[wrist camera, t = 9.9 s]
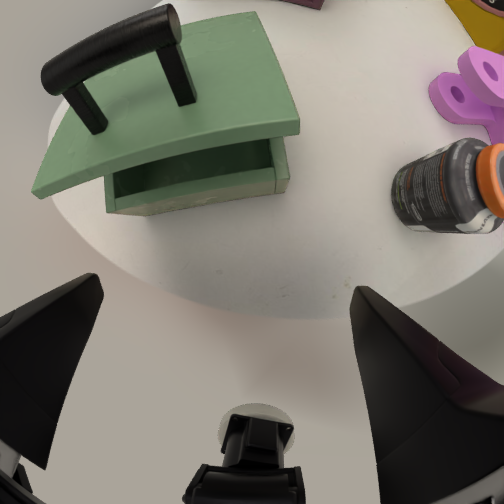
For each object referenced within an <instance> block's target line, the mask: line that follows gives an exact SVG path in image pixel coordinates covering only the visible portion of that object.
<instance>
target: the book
mask: <svg viewBox="0 0 504 504" xmlns="http://www.w3.org/2000/svg"><path fill="white" fill-rule="evenodd" d="M282 1H287V2H291V3H296V4H300V5H304V6H308V7H311V8H315V9H319V10H320V9H321V7H322V5H323V2H324V0H282Z"/></svg>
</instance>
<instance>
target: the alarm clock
mask: <svg viewBox="0 0 504 504" xmlns="http://www.w3.org/2000/svg"><path fill="white" fill-rule="evenodd" d="M445 1H446V3H447V4H448V5H449V6H450V8H451V9H452V10H453V12H454V13H455V14H456V16H457V17H458V19H459V20H460V21H461V23H462V24H463V26H464V27H465V29H466V30H467V32H468V33H469V35H470V36H471V38H472V40H473V41H474V43H475V45H476V46H477V47H479V48H482V49H485V50H488V51H491V52H494V53H496V54H499V55H502V56H504V0H445Z"/></svg>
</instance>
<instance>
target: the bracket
mask: <svg viewBox="0 0 504 504" xmlns="http://www.w3.org/2000/svg"><path fill="white" fill-rule="evenodd" d="M458 68H459V71H460V73H461V74H455V73H448V72H444V73H441V74H440V75H439V76H438V77H437V78H436V79H434V80H433V81H432V82H431V83H430V85H429V95H430V99H431V101H432V103H433V105H434V107H435V108H436V110H437V111H438V112H439V113H440V114H441V116H443V117H444V118H445V119H446V120H448V121H449V122H451V123H454V124H482V125H484V126H485V127H486V129H487V131H488V134H489V137H490V140H491V143H492V145H495V144H498V143H503V144H504V56H502V55H499V54H496V53H494V52H491V51H488V50H485V49H482V48H479V47H476V46H471V47H470V48H469V49H468V50H466V51H465V52H464V53H463V54H462V55H461V56H460V57H459V58H458Z"/></svg>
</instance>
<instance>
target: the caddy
mask: <svg viewBox="0 0 504 504" xmlns="http://www.w3.org/2000/svg"><path fill="white" fill-rule="evenodd" d="M289 179H290V175H289V169H288V163H287V157H286V151H285V146H284V140H283V137H275V138H267V139H260V140H253V141H247V142H240V143H234V144H229V145H223V146H218V147H213V148H207V149H203V150H198V151H193V152H189V153H184V154H180V155H176V156H171V157H167V158H163V159H159V160H156V161H152V162H148V163H144V164H141V165H137V166H134V167H130V168H127V169H124V170H120V171H117V172H114V173H111V174H108V175H105V176H104V187H105V202H106V212H107V213H111V214H123V215H135V216H149V215H153V214H158V213H163V212H168V211H173V210H179V209H184V208H189V207H195V206H200V205H206V204H212V203H218V202H224V201H230V200H236V199H243V198H249V197H256V196H263V195H270V194H278V193H284V192H285V190H286V187H287V184H288V182H289Z"/></svg>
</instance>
